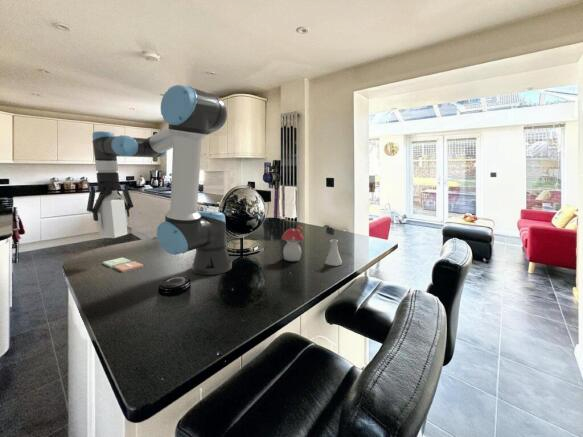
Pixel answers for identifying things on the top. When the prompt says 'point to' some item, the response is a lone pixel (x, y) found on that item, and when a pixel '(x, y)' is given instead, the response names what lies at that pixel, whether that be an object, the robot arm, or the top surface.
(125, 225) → the milk carton
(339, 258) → the flask
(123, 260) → the pale green square tile
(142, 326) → the top surface
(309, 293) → the top surface
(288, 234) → the decorative ornament
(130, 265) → the pad lying
